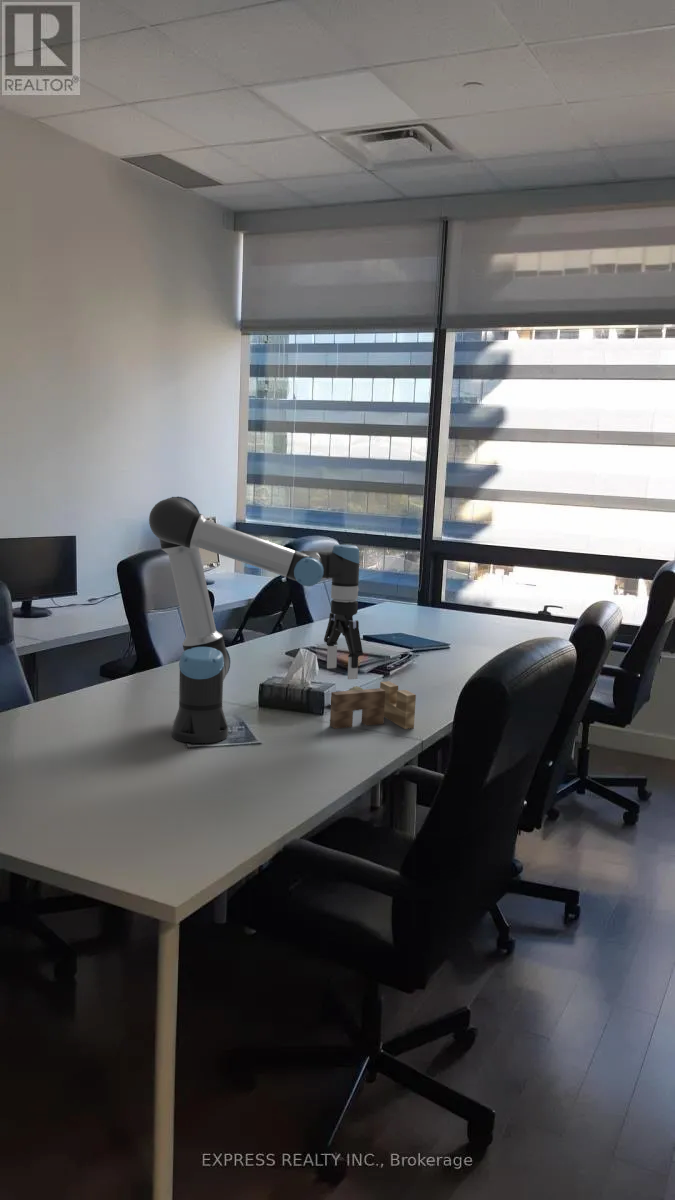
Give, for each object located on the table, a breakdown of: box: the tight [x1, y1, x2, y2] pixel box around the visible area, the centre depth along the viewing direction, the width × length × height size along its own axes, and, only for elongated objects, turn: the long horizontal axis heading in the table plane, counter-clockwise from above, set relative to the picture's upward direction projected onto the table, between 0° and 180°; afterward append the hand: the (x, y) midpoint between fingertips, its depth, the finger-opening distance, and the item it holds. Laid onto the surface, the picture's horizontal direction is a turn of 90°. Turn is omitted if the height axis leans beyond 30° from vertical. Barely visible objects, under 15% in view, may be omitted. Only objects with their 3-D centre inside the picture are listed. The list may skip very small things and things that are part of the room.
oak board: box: [379, 680, 417, 730], centre depth 268 cm, size 3×16×10 cm, turn 26°
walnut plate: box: [329, 687, 385, 730], centre depth 262 cm, size 16×3×10 cm, turn 116°
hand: (341, 673), depth 258 cm, fingers open, 13 cm apart
